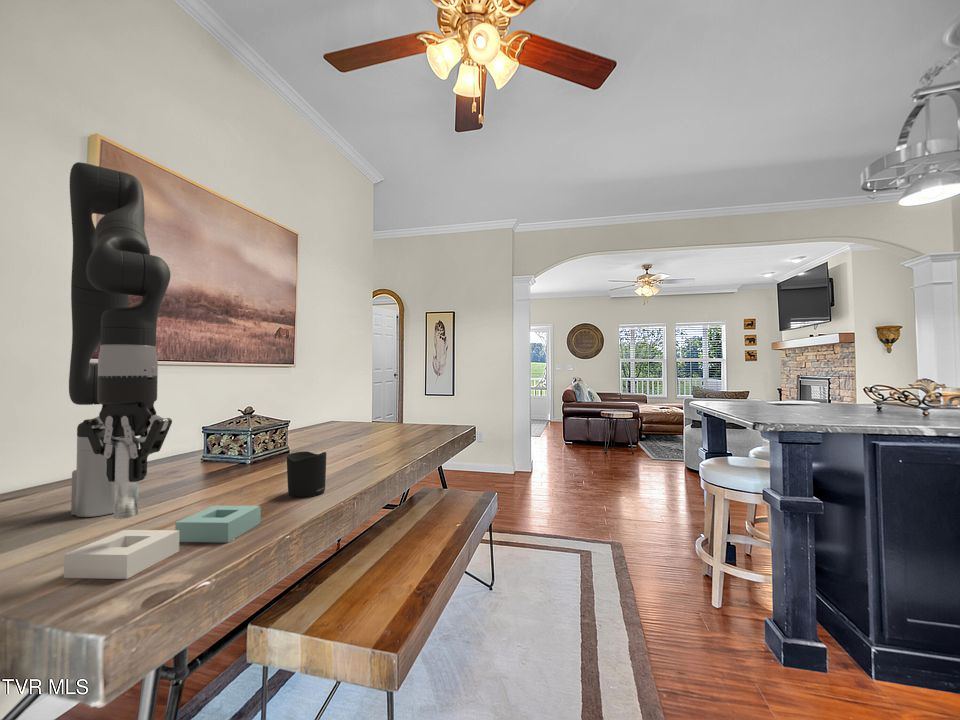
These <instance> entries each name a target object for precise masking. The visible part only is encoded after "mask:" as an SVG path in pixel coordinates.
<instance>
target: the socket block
mask: <svg viewBox="0 0 960 720" xmlns="http://www.w3.org/2000/svg"><path fill="white" fill-rule="evenodd" d="M178 552H180V542H179V530H171V529H169V530H168V529H166V530H164V529H163V530H162V529H160V530H159V529H157V530H155V529H150V530H149V529H123V530H121V531H118V532H116V533H114V534H110V535H108V536H105V537H103V538H101V539H98V540H96V541H93V542H91V543H89V544H85V545H84V546H81V547H79V548H76V549H73V550H70V551H68V552H66V553H64V554H63V555H64V556H63V579H100V580H101V579H105V580H106V579H107V580H108V579H111V580H114V579H115V580H117V579H118V580H127V579H129V578H131V577H134V576H135V575H137V574H139V573H141V572H143V571H144V570H147V569H148V568H150V567H152V566H154V565H156V564H158V563H160V562H162V561H163V560H166V559H167V558H169V557H171V556H173V555H175V554H176V553H178Z"/></svg>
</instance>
